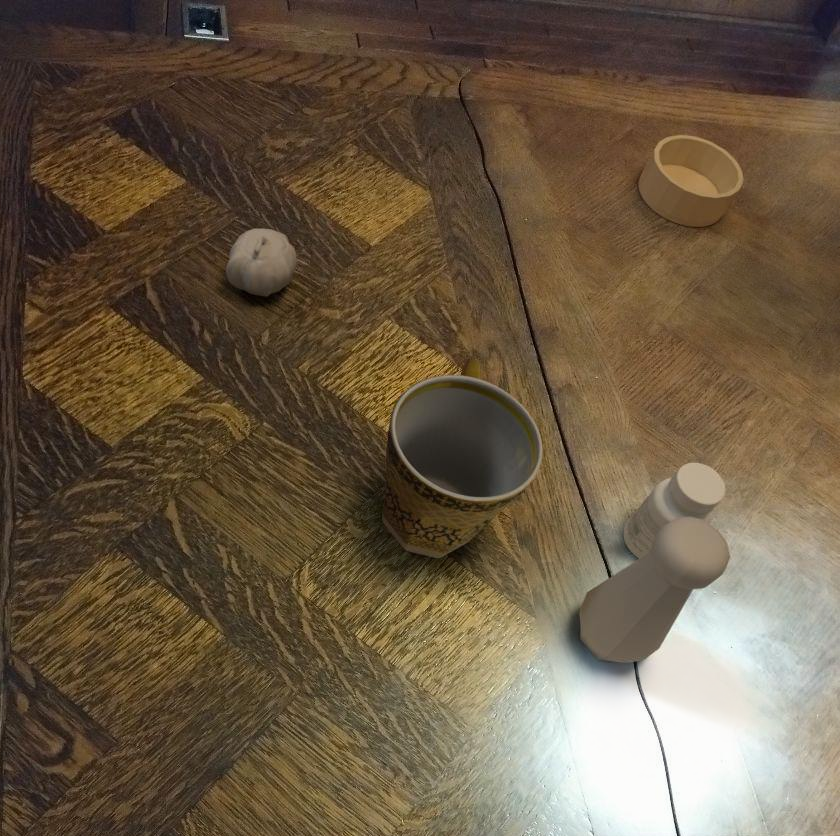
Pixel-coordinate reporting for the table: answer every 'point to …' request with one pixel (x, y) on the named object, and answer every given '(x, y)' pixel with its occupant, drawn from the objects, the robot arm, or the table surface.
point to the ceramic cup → (455, 460)
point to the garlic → (261, 262)
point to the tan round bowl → (690, 180)
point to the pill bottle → (674, 504)
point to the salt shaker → (652, 591)
